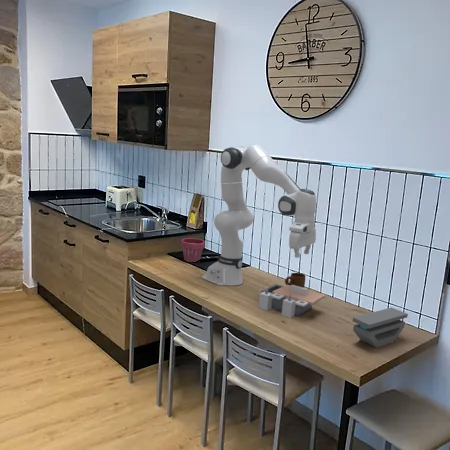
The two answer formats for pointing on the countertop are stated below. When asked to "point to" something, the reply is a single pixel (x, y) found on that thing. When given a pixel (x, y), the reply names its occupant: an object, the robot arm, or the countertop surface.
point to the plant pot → (192, 249)
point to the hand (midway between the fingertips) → (301, 255)
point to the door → (298, 295)
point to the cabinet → (281, 303)
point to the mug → (296, 280)
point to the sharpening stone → (379, 326)
